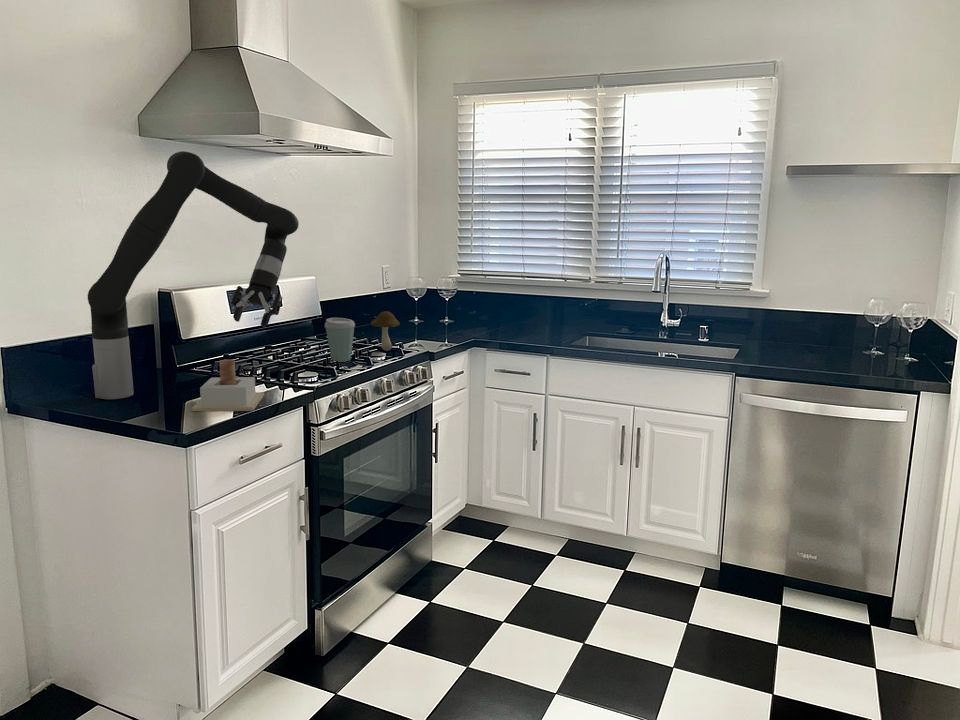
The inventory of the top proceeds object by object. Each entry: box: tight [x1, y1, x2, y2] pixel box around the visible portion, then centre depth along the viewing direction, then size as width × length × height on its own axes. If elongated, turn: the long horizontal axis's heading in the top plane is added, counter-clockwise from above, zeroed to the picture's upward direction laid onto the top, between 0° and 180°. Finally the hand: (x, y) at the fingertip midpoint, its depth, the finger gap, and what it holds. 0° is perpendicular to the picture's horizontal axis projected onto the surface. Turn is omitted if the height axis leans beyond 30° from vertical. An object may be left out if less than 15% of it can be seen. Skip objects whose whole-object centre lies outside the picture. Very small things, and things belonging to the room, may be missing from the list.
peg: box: [218, 359, 236, 385], centre depth 208 cm, size 4×4×11 cm
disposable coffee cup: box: [324, 317, 356, 363], centre depth 263 cm, size 11×11×15 cm
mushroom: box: [370, 310, 401, 352], centre depth 282 cm, size 9×11×15 cm
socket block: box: [191, 376, 265, 412], centre depth 209 cm, size 16×16×6 cm
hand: (249, 323), depth 221 cm, fingers open, 8 cm apart
